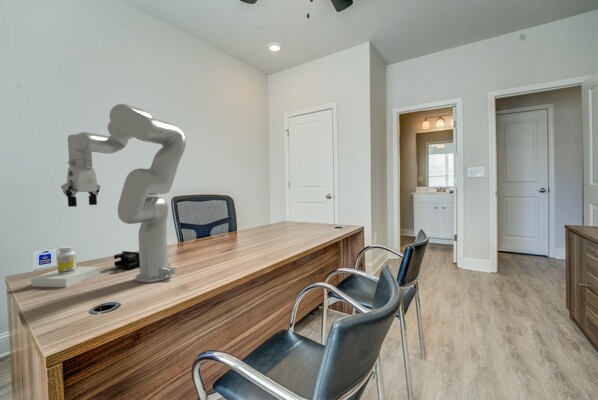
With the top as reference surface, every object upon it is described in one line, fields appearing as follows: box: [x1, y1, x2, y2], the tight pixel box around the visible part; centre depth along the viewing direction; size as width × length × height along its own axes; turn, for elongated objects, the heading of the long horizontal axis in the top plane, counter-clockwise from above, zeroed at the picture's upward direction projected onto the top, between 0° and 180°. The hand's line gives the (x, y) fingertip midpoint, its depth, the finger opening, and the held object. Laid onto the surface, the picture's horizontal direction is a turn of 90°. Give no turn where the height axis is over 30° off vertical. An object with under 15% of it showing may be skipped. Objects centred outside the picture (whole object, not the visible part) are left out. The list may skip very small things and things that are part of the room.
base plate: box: [30, 266, 101, 288], centre depth 101 cm, size 14×14×3 cm
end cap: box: [113, 250, 140, 271], centre depth 117 cm, size 10×7×7 cm
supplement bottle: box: [56, 245, 78, 274], centre depth 101 cm, size 5×5×10 cm
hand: (83, 205), depth 112 cm, fingers open, 9 cm apart
